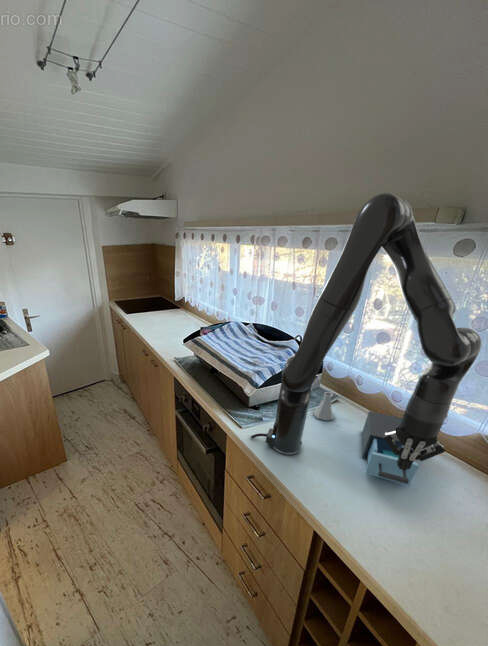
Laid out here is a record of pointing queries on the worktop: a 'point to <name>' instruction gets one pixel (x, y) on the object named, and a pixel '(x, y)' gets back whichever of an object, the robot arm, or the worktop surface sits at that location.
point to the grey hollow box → (378, 429)
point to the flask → (325, 408)
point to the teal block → (389, 453)
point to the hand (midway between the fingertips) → (402, 467)
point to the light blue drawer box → (387, 463)
